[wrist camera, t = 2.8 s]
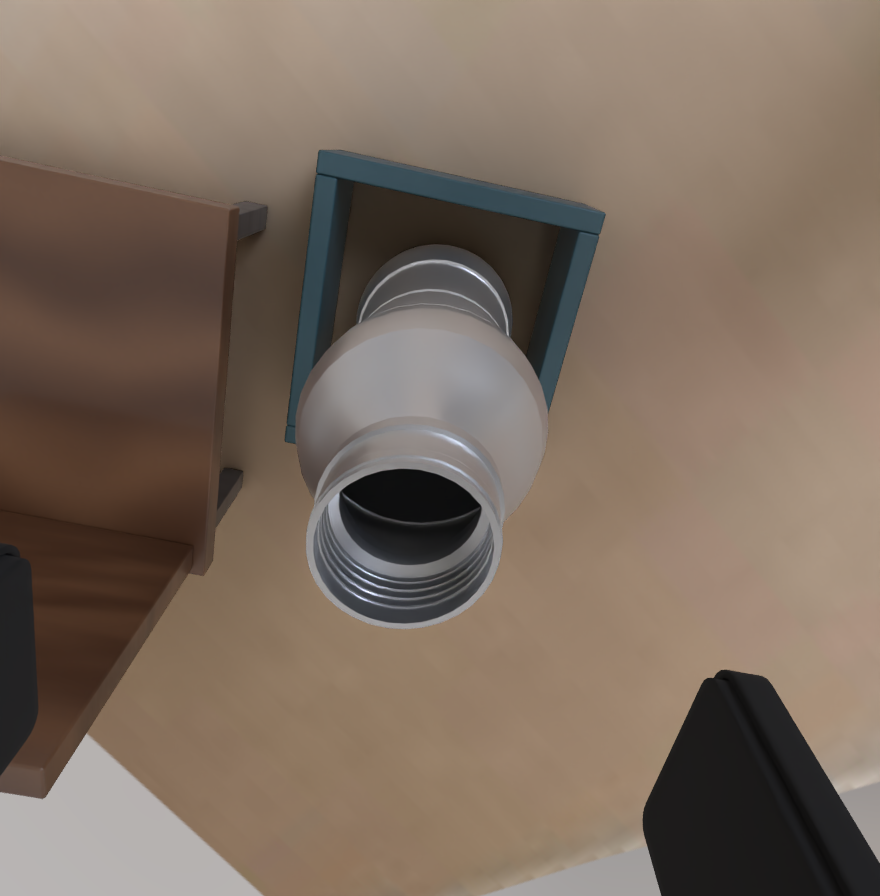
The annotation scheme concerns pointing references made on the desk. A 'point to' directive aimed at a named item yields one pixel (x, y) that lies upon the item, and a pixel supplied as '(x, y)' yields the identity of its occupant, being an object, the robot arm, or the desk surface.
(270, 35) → the desk surface
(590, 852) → the desk surface
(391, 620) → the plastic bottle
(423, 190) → the rectangular frame
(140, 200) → the chair
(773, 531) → the desk surface
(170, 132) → the desk surface
